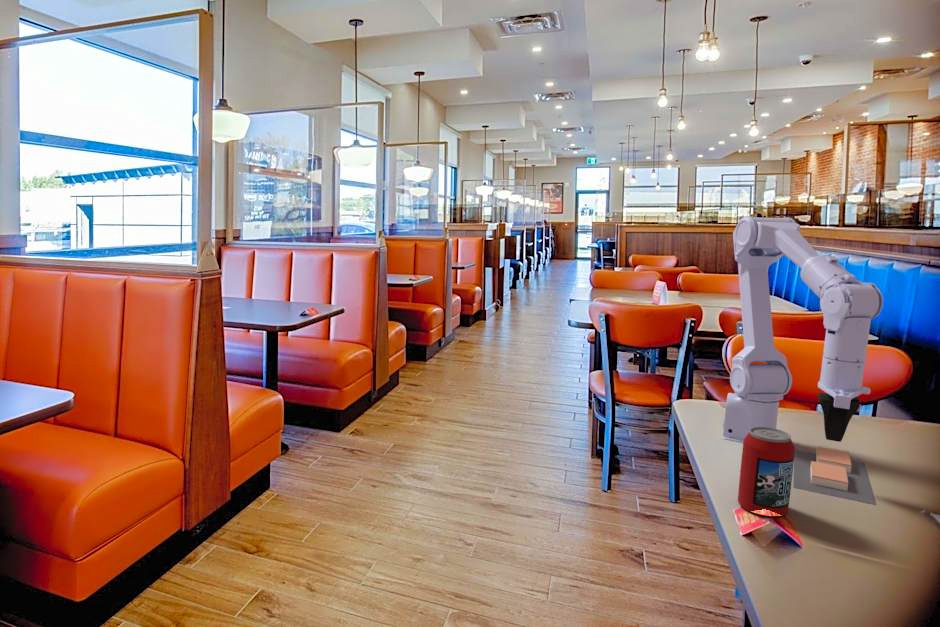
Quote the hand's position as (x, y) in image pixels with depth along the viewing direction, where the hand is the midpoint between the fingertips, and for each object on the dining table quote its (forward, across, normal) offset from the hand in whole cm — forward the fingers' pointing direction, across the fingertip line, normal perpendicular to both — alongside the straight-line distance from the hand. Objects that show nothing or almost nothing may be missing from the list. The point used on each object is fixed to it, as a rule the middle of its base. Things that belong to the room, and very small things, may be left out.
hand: (833, 439), depth 94 cm
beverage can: (+8, -16, +9) cm, 20 cm away
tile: (+7, -2, 0) cm, 7 cm away
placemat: (+8, +4, -1) cm, 9 cm away
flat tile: (+7, +10, -1) cm, 12 cm away
